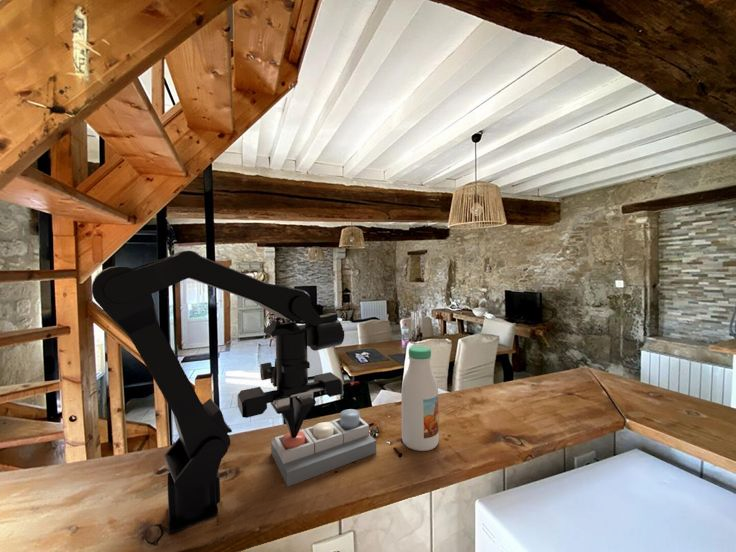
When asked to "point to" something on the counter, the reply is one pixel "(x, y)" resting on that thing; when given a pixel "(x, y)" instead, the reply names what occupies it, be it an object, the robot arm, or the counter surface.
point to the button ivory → (322, 430)
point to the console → (322, 452)
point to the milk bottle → (420, 402)
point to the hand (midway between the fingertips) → (293, 436)
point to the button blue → (349, 419)
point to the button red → (293, 440)
